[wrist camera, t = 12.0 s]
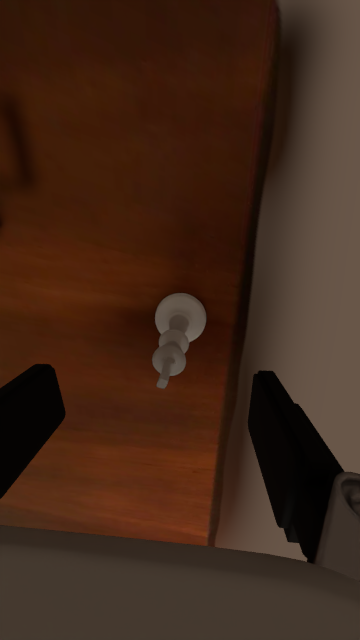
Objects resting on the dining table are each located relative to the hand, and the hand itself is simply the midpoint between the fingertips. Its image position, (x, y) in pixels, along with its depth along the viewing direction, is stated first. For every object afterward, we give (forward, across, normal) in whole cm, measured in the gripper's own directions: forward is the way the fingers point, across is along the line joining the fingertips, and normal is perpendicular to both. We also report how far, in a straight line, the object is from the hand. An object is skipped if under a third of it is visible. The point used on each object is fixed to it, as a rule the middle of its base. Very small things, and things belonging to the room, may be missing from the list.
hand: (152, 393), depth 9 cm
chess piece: (+11, -1, 0) cm, 11 cm away
